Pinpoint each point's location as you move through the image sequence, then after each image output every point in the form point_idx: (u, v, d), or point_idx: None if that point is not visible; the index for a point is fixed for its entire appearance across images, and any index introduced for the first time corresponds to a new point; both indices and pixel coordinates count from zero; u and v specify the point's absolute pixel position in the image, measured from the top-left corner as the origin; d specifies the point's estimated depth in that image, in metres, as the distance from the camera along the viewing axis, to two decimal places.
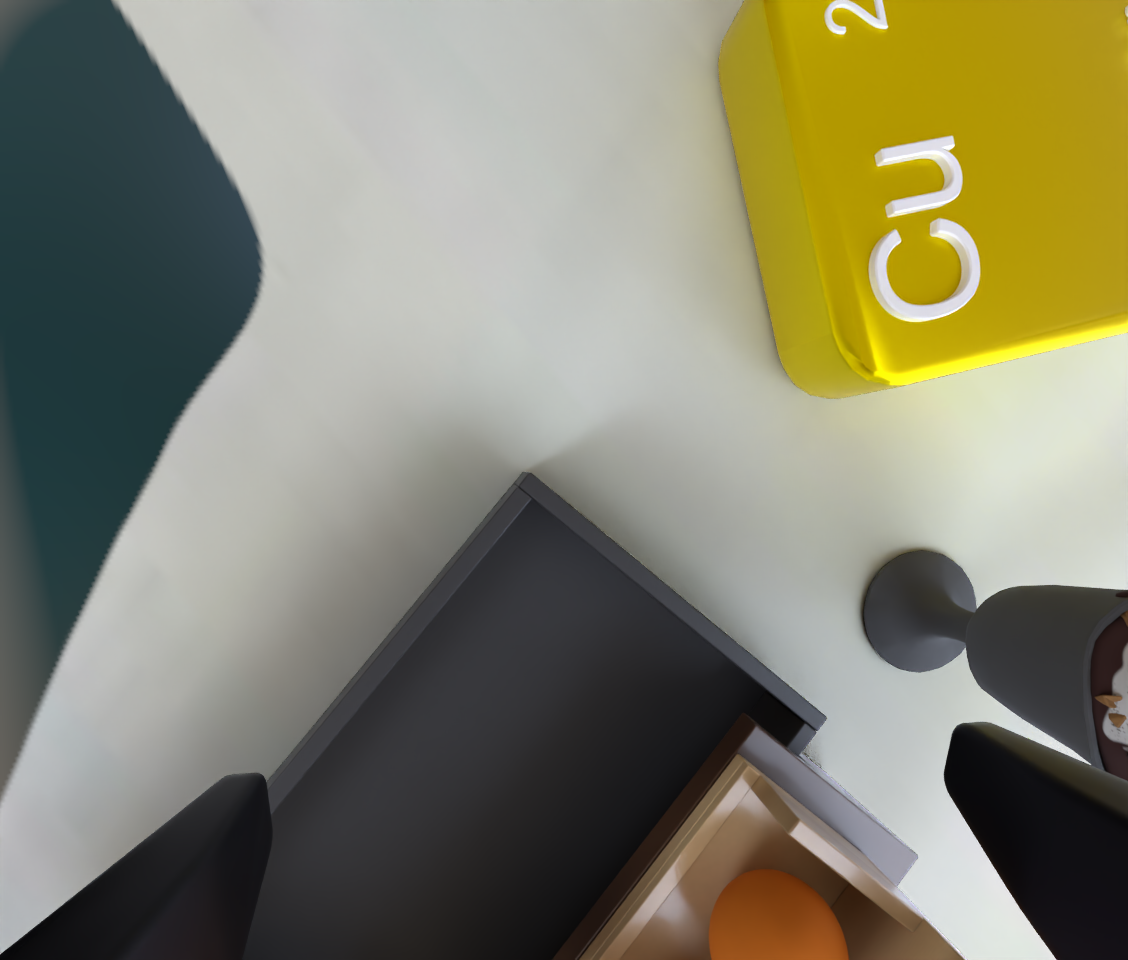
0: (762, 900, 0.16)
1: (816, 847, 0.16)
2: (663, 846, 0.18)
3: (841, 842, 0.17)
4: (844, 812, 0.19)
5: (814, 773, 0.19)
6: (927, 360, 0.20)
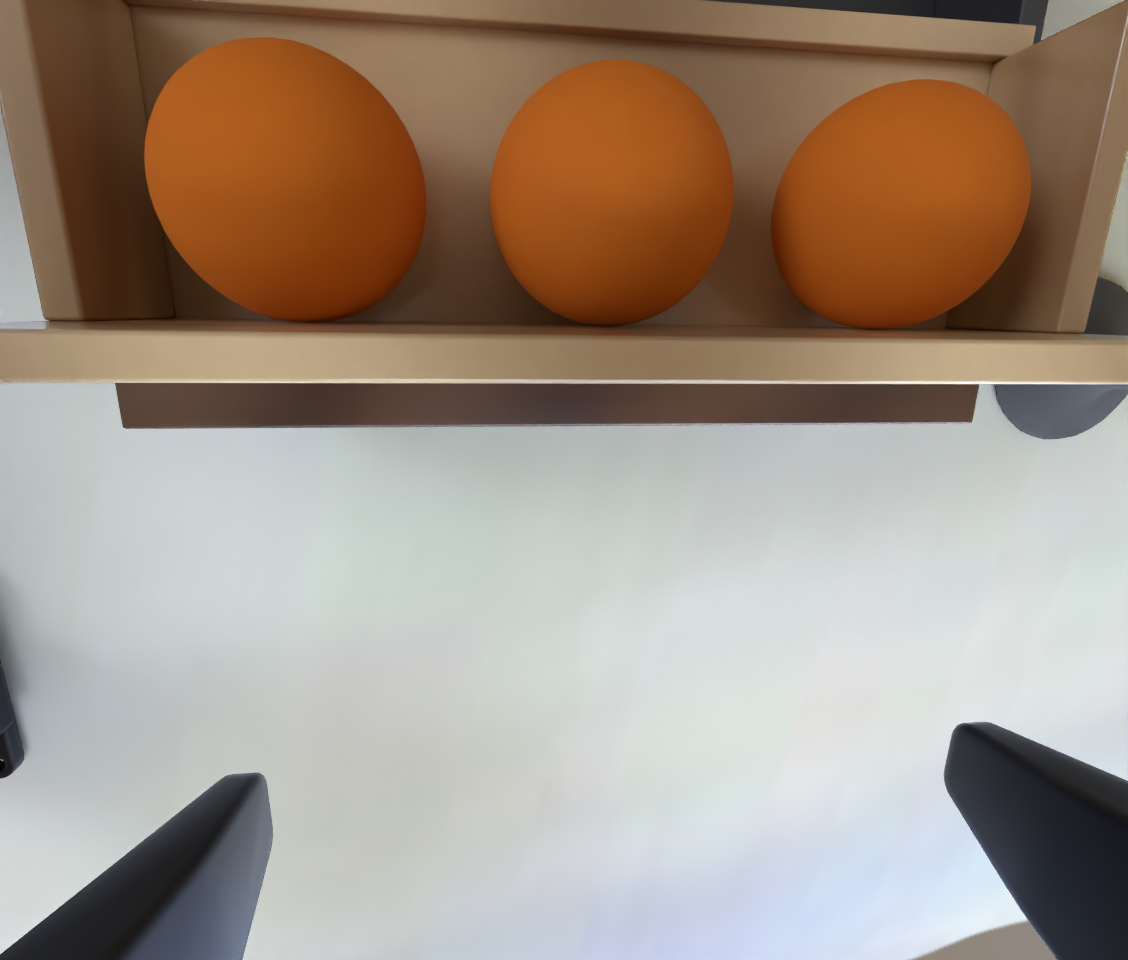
0: None
1: None
2: None
3: None
4: None
5: None
6: None
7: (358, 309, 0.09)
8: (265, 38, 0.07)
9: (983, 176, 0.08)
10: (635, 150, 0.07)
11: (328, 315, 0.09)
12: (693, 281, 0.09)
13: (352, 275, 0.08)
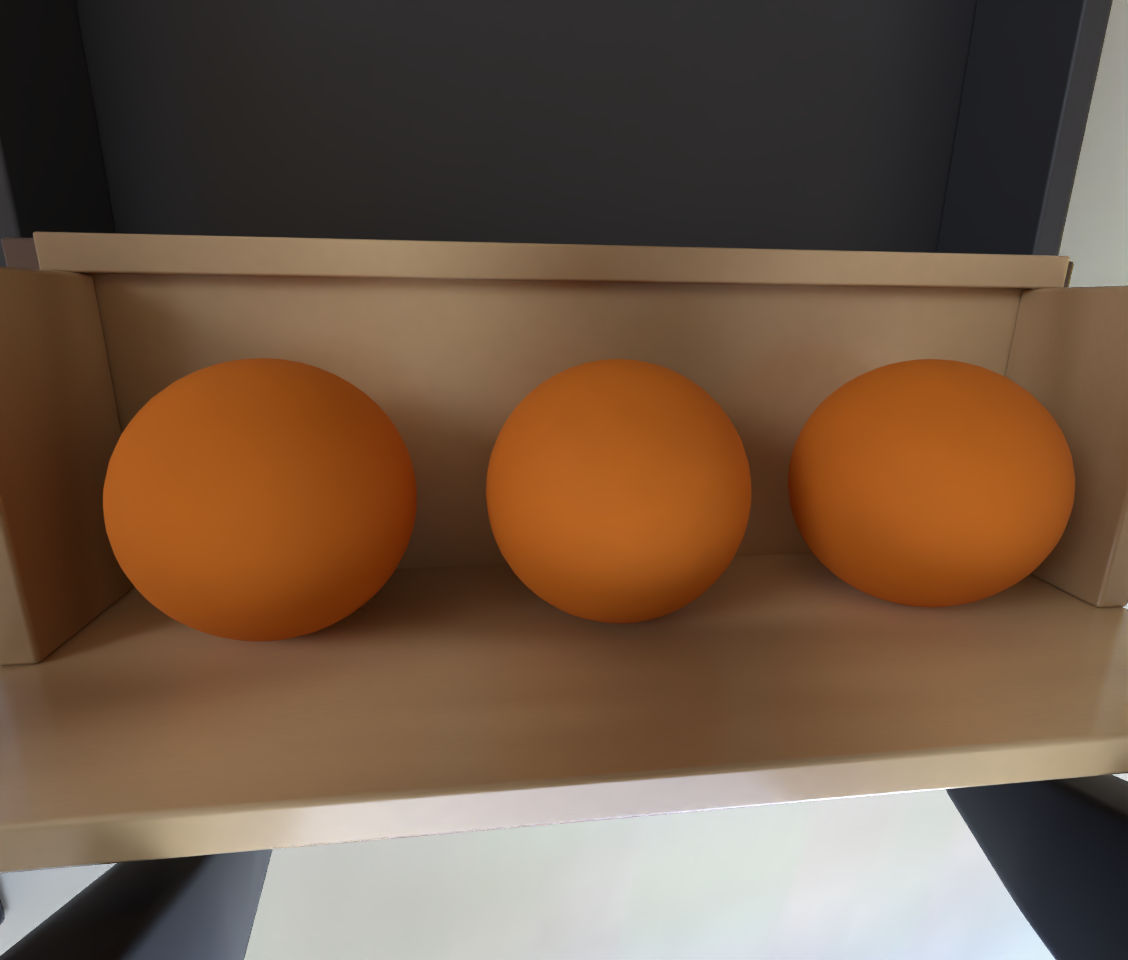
0: (1035, 399, 0.08)
1: None
2: None
3: None
4: None
5: None
6: None
7: None
8: (236, 380, 0.07)
9: (1027, 505, 0.07)
10: (646, 507, 0.07)
11: None
12: (707, 588, 0.08)
13: (335, 613, 0.07)
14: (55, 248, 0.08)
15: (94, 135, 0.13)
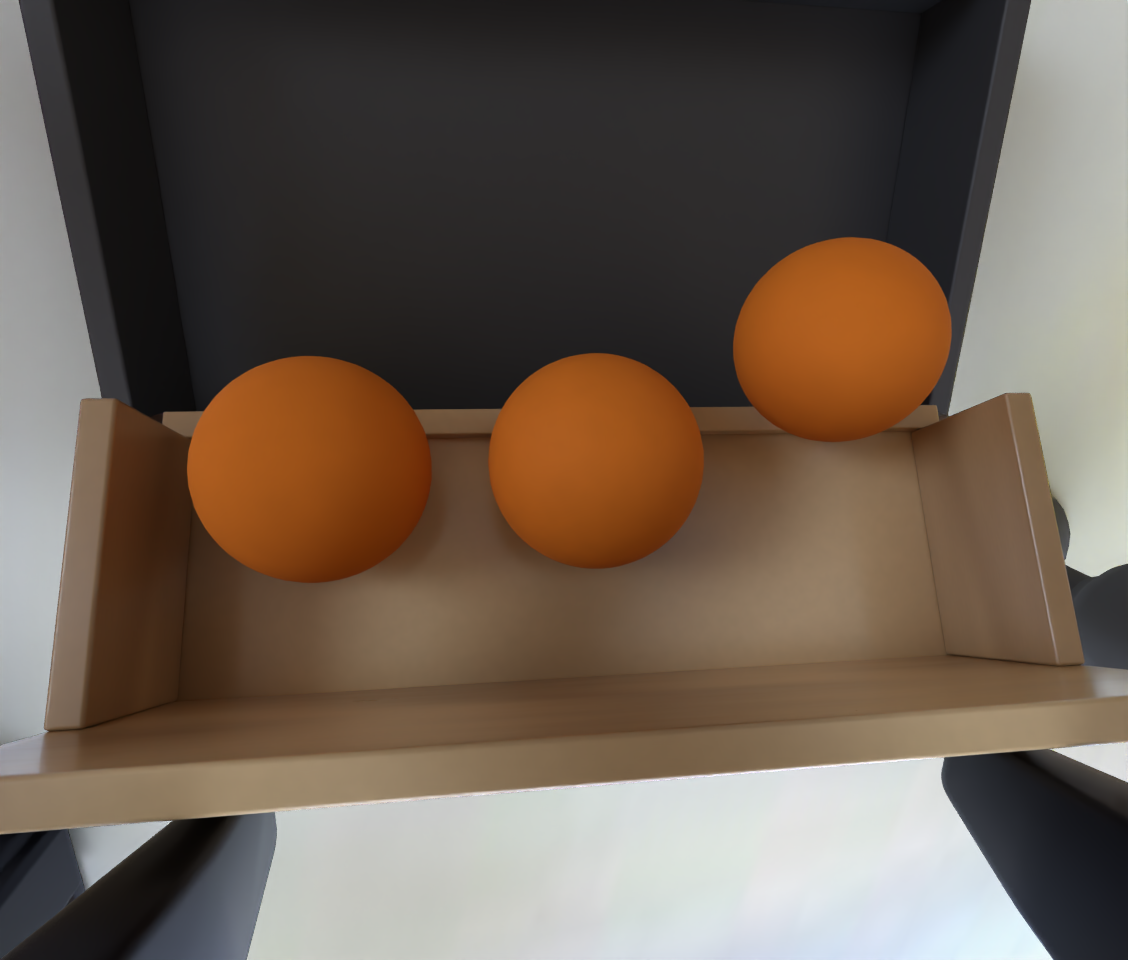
0: None
1: (1026, 438, 0.10)
2: None
3: None
4: None
5: None
6: None
7: (345, 489, 0.08)
8: None
9: None
10: (593, 353, 0.10)
11: (313, 475, 0.08)
12: (682, 427, 0.09)
13: (354, 425, 0.08)
14: (176, 422, 0.11)
15: (173, 290, 0.15)
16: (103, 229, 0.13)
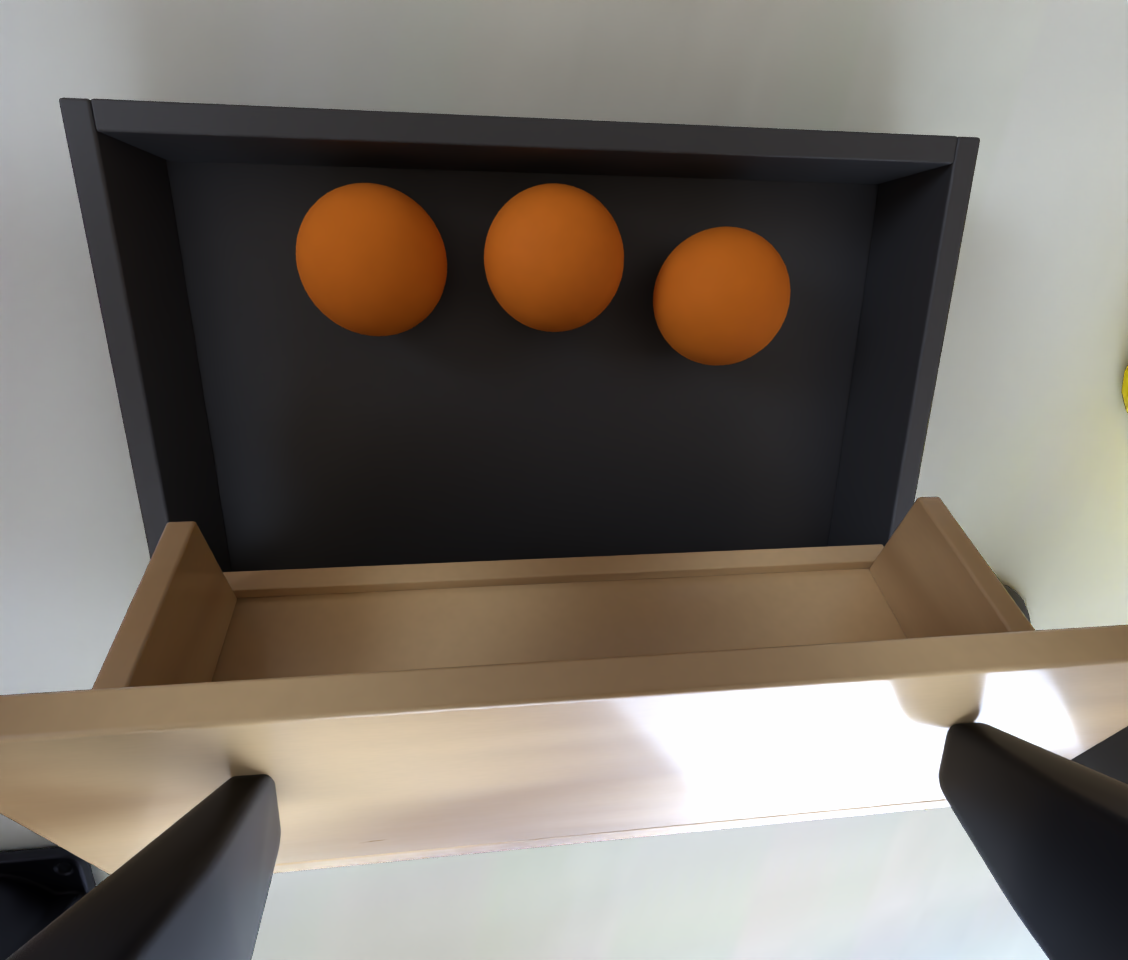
0: (775, 262, 0.15)
1: (948, 525, 0.12)
2: None
3: None
4: None
5: None
6: None
7: None
8: (361, 190, 0.14)
9: (746, 323, 0.15)
10: (561, 250, 0.14)
11: (394, 334, 0.15)
12: (599, 310, 0.15)
13: (409, 316, 0.15)
14: None
15: (208, 439, 0.17)
16: (153, 412, 0.14)
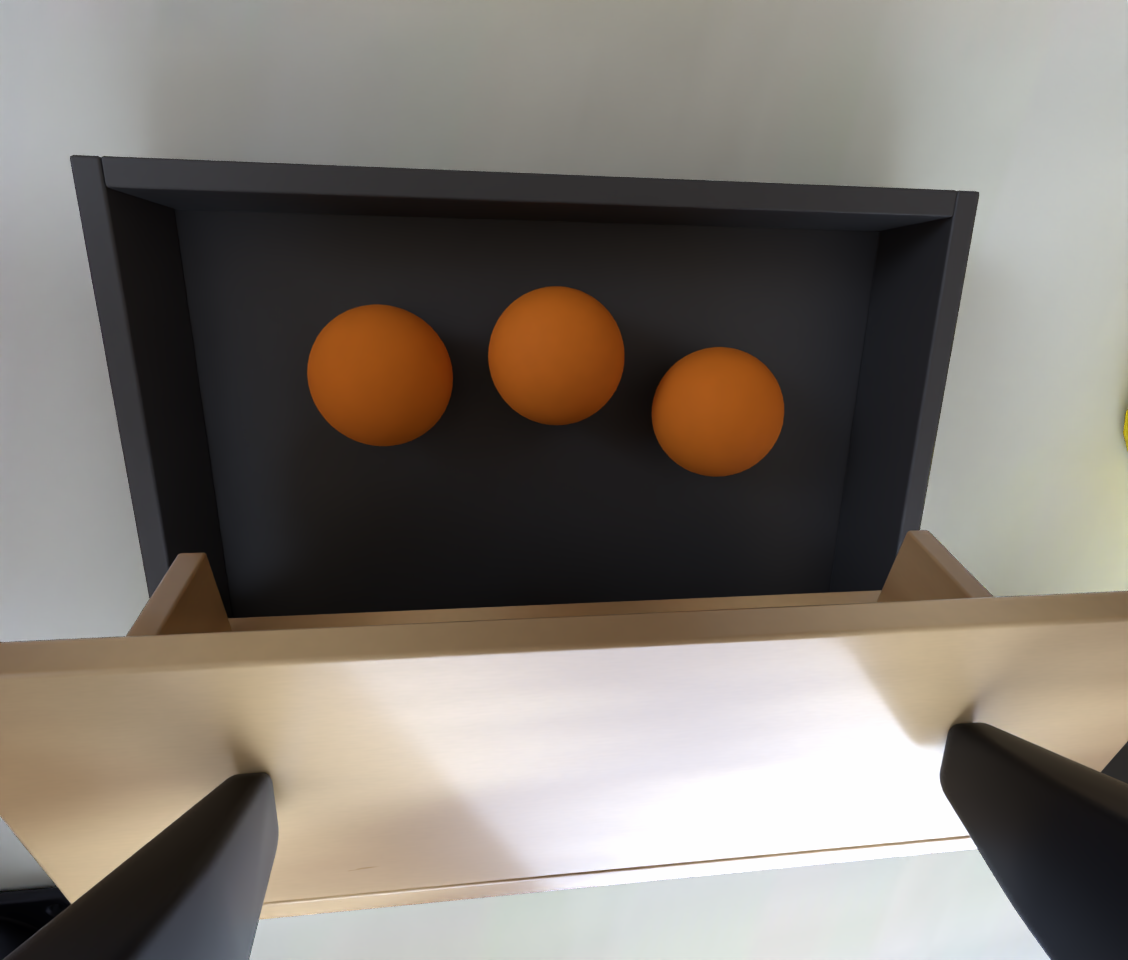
0: (765, 445, 0.16)
1: (939, 553, 0.12)
2: None
3: None
4: None
5: None
6: None
7: None
8: (369, 378, 0.14)
9: (719, 476, 0.17)
10: (561, 404, 0.15)
11: None
12: None
13: None
14: None
15: (210, 481, 0.17)
16: (156, 460, 0.14)
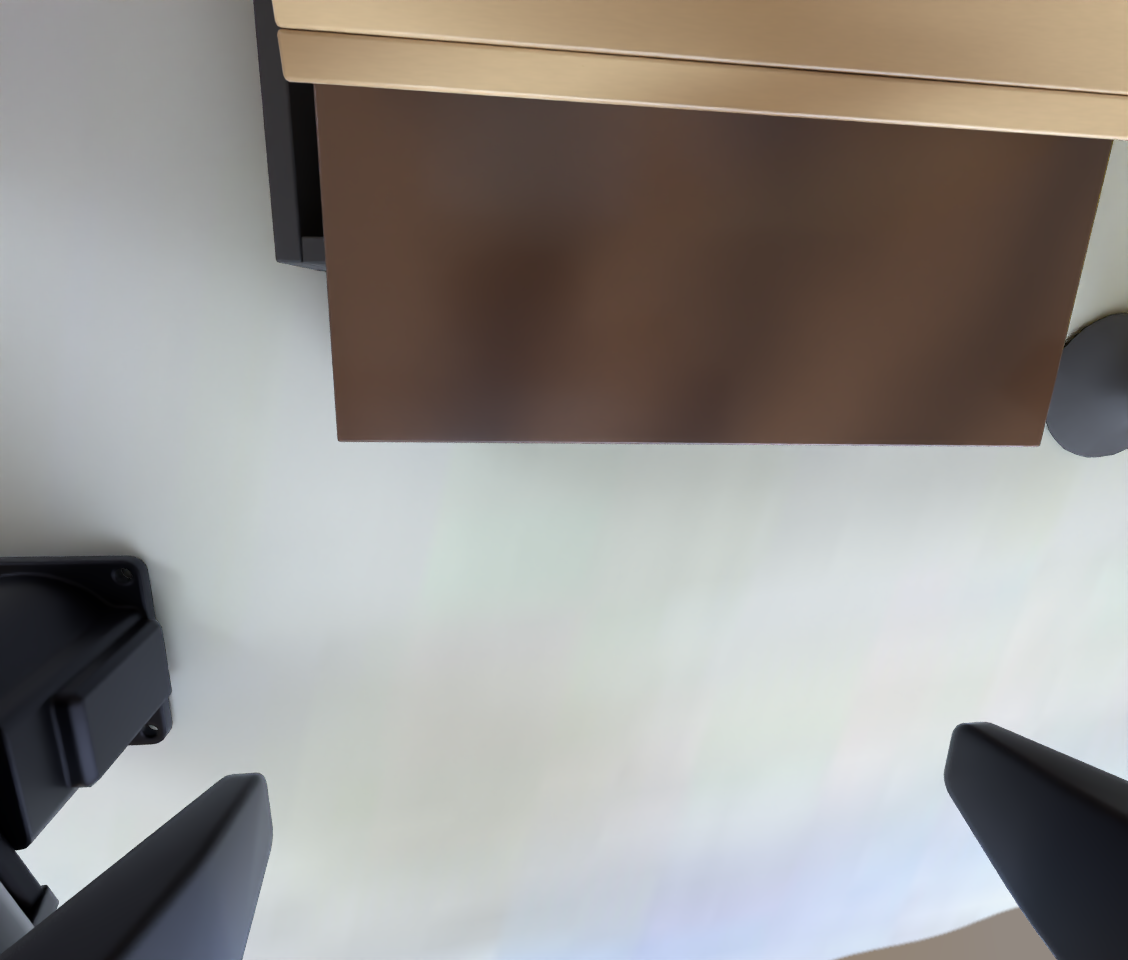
0: None
1: None
2: (922, 126, 0.13)
3: None
4: (1055, 324, 0.15)
5: (1084, 255, 0.14)
6: None
7: None
8: None
9: None
10: None
11: None
12: None
13: None
14: None
15: None
16: None
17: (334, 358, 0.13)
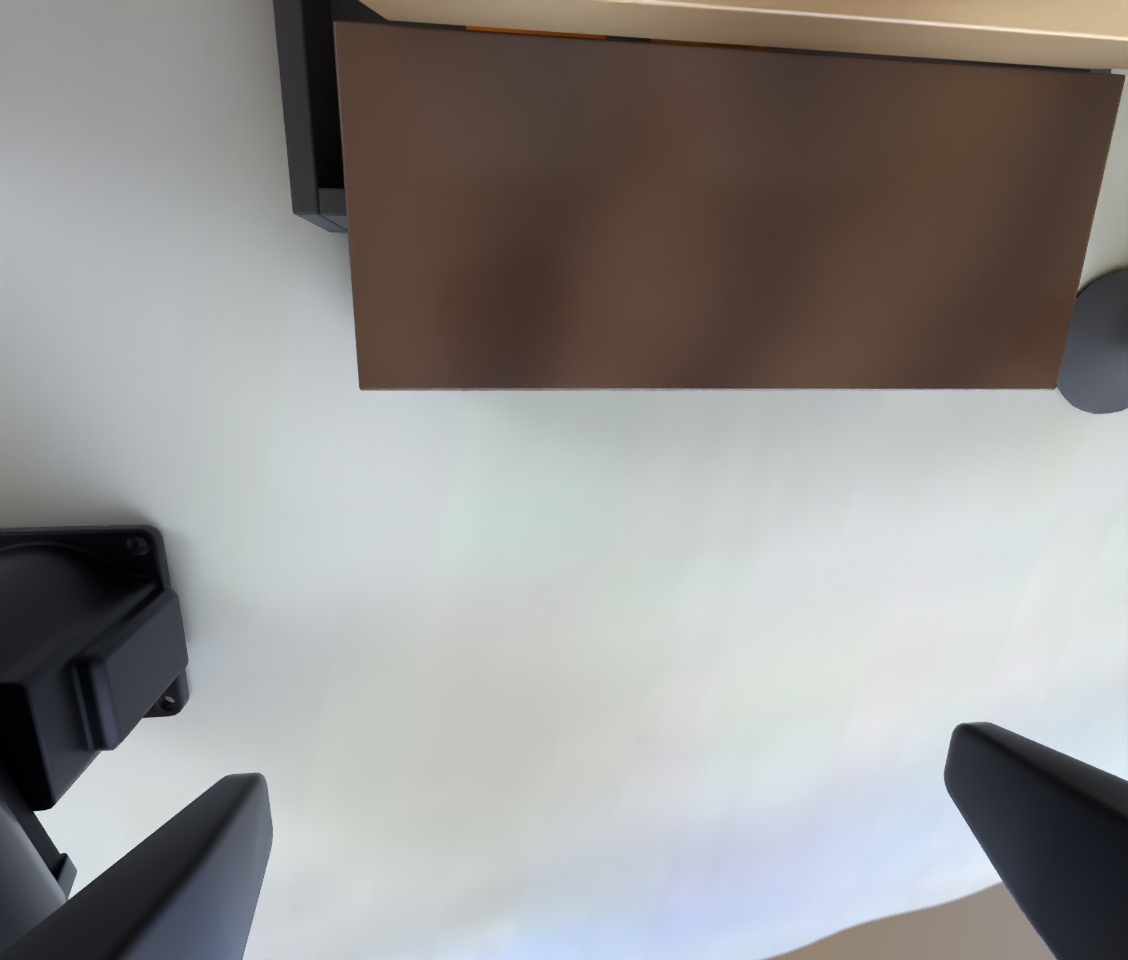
0: None
1: None
2: (936, 65, 0.13)
3: None
4: (1069, 265, 0.15)
5: (1097, 195, 0.14)
6: None
7: None
8: None
9: None
10: None
11: None
12: None
13: None
14: None
15: None
16: None
17: (355, 305, 0.13)
